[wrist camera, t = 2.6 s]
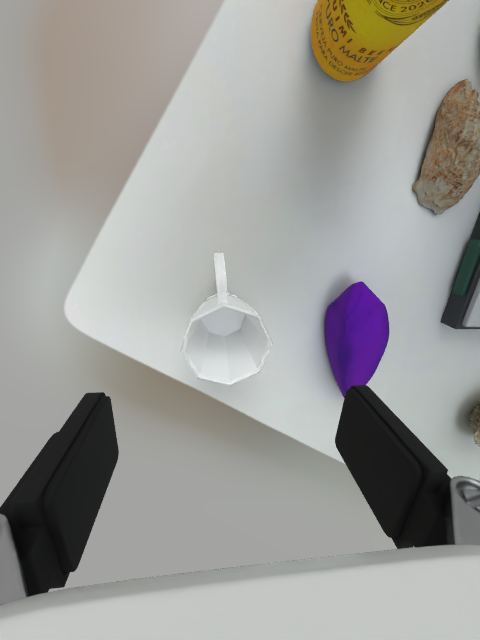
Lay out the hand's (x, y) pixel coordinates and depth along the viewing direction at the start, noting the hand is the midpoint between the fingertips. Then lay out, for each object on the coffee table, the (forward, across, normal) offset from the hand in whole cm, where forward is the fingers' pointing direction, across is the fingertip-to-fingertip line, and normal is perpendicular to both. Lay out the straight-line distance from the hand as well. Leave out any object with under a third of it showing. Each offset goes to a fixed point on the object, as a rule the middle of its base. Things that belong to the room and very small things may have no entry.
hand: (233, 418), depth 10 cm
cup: (+18, 0, 0) cm, 18 cm away
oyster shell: (+17, -20, -14) cm, 30 cm away
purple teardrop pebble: (+18, -14, +5) cm, 23 cm away
